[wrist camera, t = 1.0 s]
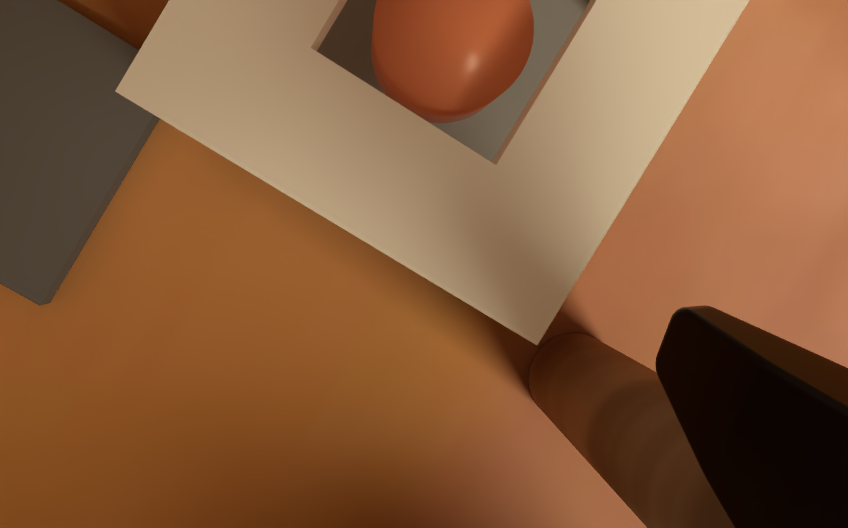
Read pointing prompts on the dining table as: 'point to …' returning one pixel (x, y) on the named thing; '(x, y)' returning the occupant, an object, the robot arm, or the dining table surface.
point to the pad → (59, 138)
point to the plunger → (449, 53)
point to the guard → (440, 131)
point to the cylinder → (624, 430)
